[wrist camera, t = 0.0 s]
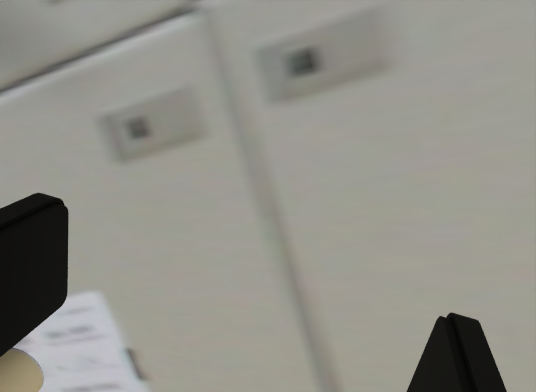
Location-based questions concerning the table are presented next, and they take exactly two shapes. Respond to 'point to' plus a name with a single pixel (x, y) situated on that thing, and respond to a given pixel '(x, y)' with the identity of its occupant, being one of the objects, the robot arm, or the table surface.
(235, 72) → the table surface
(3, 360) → the coffee cup
